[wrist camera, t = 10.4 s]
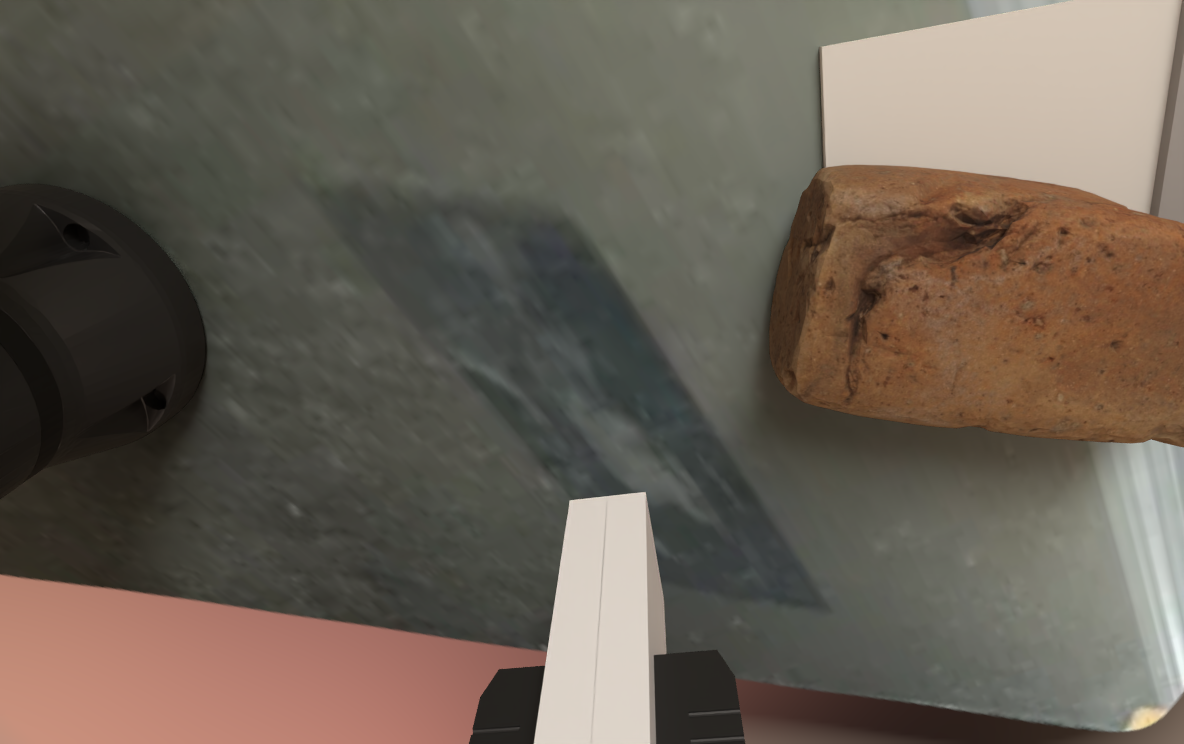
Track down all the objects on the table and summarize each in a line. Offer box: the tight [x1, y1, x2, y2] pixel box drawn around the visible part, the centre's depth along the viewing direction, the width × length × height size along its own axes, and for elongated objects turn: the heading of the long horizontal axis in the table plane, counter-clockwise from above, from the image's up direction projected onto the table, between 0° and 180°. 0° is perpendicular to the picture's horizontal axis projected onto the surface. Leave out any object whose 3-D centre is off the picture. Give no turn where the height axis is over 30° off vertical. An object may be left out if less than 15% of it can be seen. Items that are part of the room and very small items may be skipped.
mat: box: [819, 0, 1184, 223], centre depth 33 cm, size 16×16×1 cm
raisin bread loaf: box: [769, 165, 1184, 447], centre depth 32 cm, size 11×8×20 cm
